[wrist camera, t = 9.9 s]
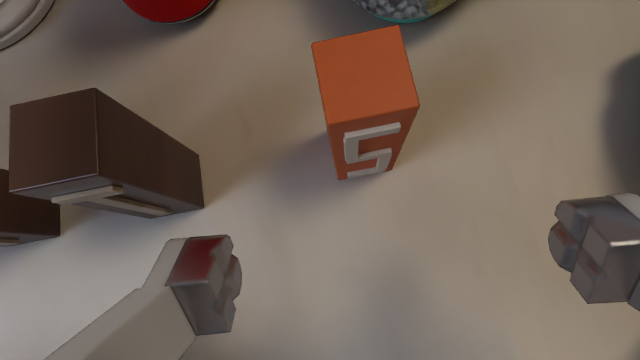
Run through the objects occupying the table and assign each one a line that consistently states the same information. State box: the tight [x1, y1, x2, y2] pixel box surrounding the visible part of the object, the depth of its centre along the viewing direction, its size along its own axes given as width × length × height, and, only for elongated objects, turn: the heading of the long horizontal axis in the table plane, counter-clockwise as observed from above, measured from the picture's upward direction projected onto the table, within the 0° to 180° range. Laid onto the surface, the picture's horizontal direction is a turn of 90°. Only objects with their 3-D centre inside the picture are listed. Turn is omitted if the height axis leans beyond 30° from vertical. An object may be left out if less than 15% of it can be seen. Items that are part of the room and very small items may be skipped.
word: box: [0, 88, 204, 246], centre depth 15 cm, size 11×3×8 cm, turn 100°
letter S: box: [311, 25, 420, 180], centre depth 15 cm, size 3×3×8 cm
